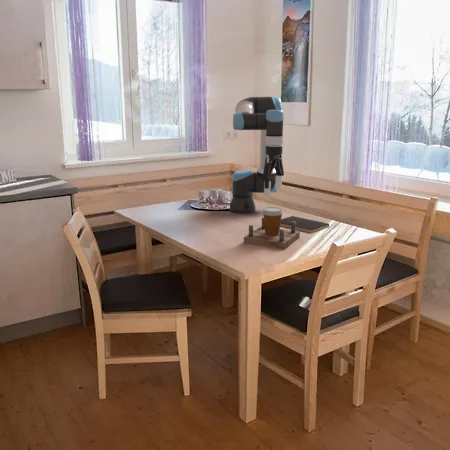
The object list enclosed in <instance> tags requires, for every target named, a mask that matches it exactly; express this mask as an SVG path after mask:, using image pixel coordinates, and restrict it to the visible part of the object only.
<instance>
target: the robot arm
mask: <svg viewBox="0 0 450 450" xmlns="http://www.w3.org/2000/svg"><path fill="white" fill-rule="evenodd" d="M284 118H285V117H284V111H283V106H282V100H281V98H280V97H278V96H249V97H246V98H243V99H242V100H240V101H239V102H238V103H237V104H236V106H235V113H233V115H232V128H233V130H235V131H260V144H259V146H260V148H259V151H260V152H259V167H258V168H257V169H256V171H255V172H254V170H253V169H239V170H237V171H235V172H233V173H232V181H231V182H232V198H231V200H230V204H229V208H228V209H229V212H231V213H233V214H251V213H255V212H256V210H257V209H256V203H255V201H254V196H253V194H263V195H264V196H268V197H270V196H271V194H272V193H273V194H274V193H275V194H276V193H277V192H278V191H282V183H283V181H282V180H283V176H284V175H285V173H284V172H285V171H284V166H283V164H284V163H283V156H282V155H283V147H284V146H283V144H284V143H283V142H284V135H283V134H284Z"/></svg>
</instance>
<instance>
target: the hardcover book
mask: <svg viewBox="0 0 450 450" xmlns="http://www.w3.org/2000/svg"><path fill="white" fill-rule="evenodd" d="M292 221H294V222H296V224H295V230H296V231H300V232H301V231H302V232H306V233H309V234H312V233H315V232H318V231H321V230H324V229H326V228H329V227H330V223H327V222H323V221H317V220H313V219H308V218H304V217H300V216H294V215H291V216H287V217H284V218H281V223H280V227H284V228H288V229H291V222H292Z"/></svg>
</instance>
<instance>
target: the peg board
mask: <svg viewBox="0 0 450 450" xmlns="http://www.w3.org/2000/svg"><path fill="white" fill-rule="evenodd" d="M295 224H296V222H294V221H292V222H291V228H290V230H289V229H284V228H280V230H279V235H277V236H268V235H266V234H265V226H264V217H262V218H261V226H259V227H257V228H256V229H255V230H254V225H253V224H251V225H250V224H249V225H248V234H246V235H244V236H243V244H246V245H253V246H257V247H264V248H265V247H266V248H273V249H278V250H279V249H280V250H286V249H288V247H290V246H291V245H292V244H294V243H296V241H297V240H298V239H300V238H301V237H300V236H301V235H300V234H301V231H300V230H296V229H295Z"/></svg>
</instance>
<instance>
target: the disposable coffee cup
mask: <svg viewBox="0 0 450 450" xmlns="http://www.w3.org/2000/svg"><path fill="white" fill-rule="evenodd" d="M261 212H262V215H263V217H262V218H264V226H265V234H266V235H268V236H277V235H279V230H280V229H281V226H280V223H281V219H282V215H283V213H284V211H283V209H282V208H281V207H279V206H278V207H277V206H267V207H266V206H265V207H264V208H263V209H262V211H261Z"/></svg>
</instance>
